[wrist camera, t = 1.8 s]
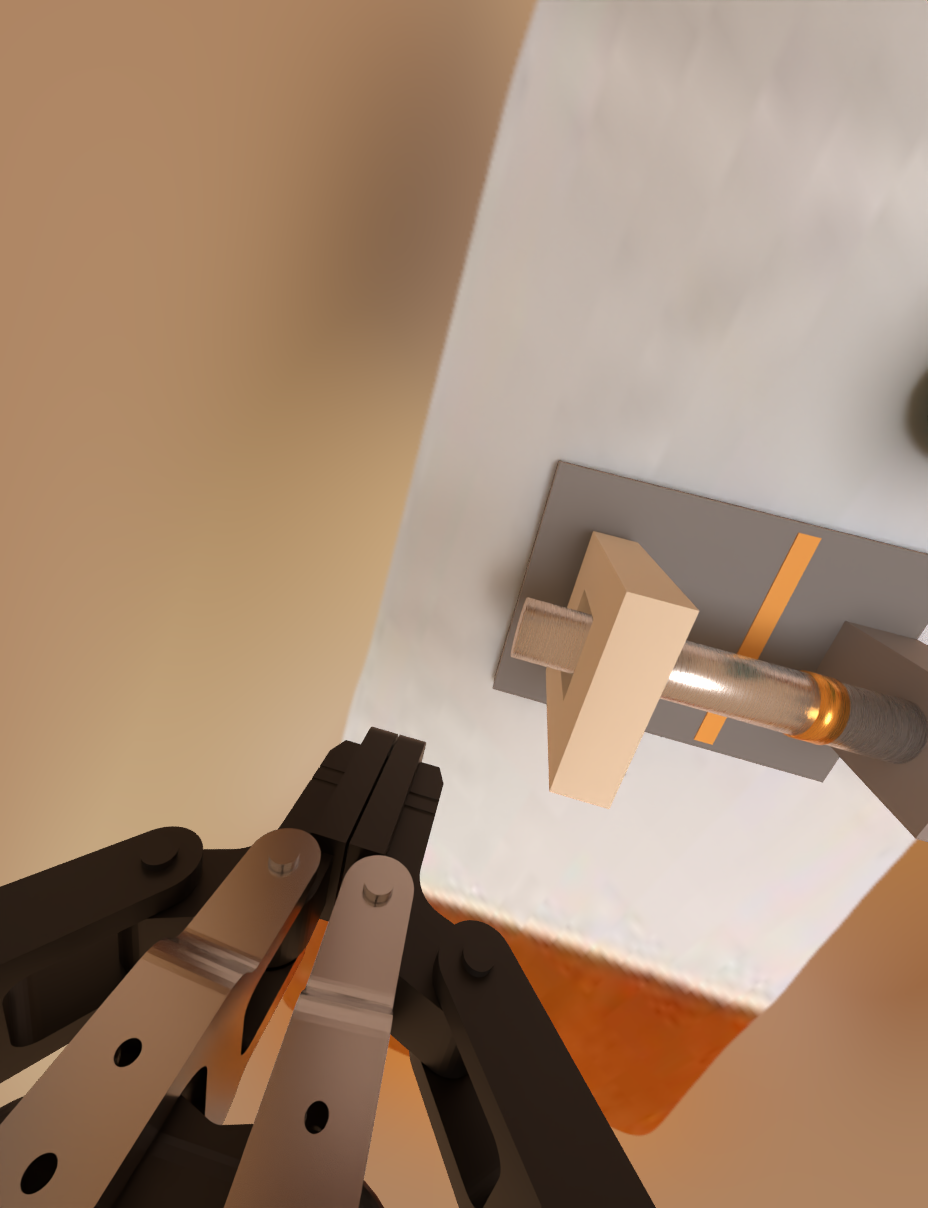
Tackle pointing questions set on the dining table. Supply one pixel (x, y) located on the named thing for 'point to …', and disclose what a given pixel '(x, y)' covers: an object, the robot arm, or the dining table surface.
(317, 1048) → the robot arm
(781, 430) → the dining table surface
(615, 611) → the beige rectangular block
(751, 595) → the mount board
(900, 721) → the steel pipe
